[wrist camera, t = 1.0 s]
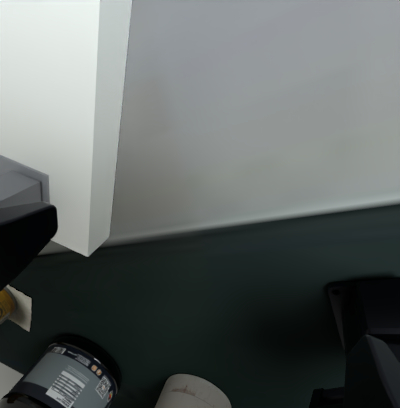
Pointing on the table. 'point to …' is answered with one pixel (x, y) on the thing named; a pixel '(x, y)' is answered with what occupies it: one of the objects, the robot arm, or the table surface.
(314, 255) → the table surface
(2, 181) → the orange-capped grey pillar
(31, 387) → the supplement container
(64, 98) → the box
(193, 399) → the thermos bottle
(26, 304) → the condiment
